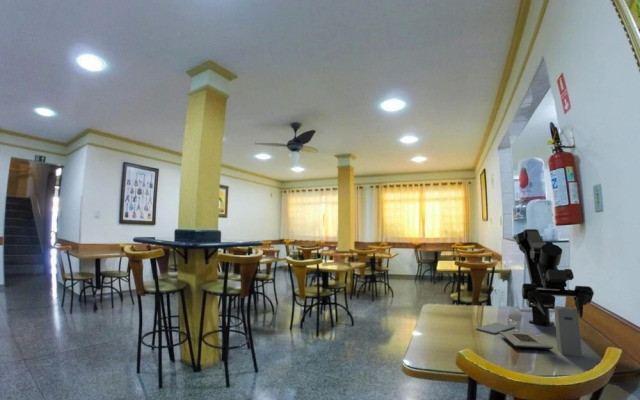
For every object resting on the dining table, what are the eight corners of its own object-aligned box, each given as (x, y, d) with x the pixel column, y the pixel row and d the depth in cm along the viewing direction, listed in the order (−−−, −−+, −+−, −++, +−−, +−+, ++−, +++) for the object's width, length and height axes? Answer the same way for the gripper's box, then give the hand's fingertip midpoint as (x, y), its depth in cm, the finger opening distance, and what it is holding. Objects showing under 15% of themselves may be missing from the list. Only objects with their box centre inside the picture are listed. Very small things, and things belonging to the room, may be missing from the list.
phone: (496, 325, 123) (496, 322, 123) (514, 329, 117) (514, 326, 117) (475, 331, 116) (475, 328, 116) (494, 336, 110) (494, 333, 110)
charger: (557, 349, 95) (553, 305, 97) (577, 351, 93) (572, 307, 95) (561, 354, 92) (557, 308, 93) (582, 356, 90) (577, 310, 91)
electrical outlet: (554, 354, 93) (553, 345, 93) (515, 351, 95) (514, 343, 95) (533, 339, 106) (532, 332, 106) (499, 337, 108) (499, 330, 108)
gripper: (520, 259, 107) (530, 298, 96) (588, 260, 100) (607, 302, 88) (518, 279, 113) (526, 318, 102) (581, 282, 106) (598, 324, 94)
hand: (563, 315), depth 96 cm, fingers open, 9 cm apart
